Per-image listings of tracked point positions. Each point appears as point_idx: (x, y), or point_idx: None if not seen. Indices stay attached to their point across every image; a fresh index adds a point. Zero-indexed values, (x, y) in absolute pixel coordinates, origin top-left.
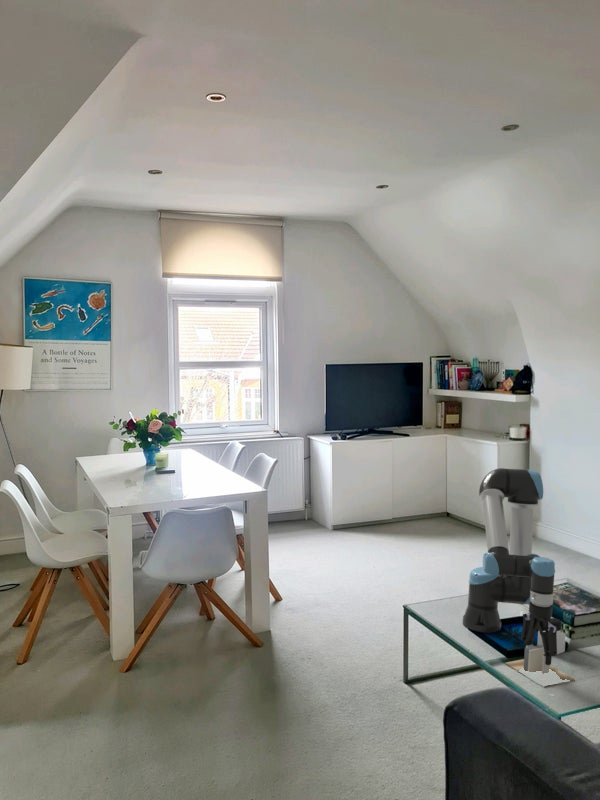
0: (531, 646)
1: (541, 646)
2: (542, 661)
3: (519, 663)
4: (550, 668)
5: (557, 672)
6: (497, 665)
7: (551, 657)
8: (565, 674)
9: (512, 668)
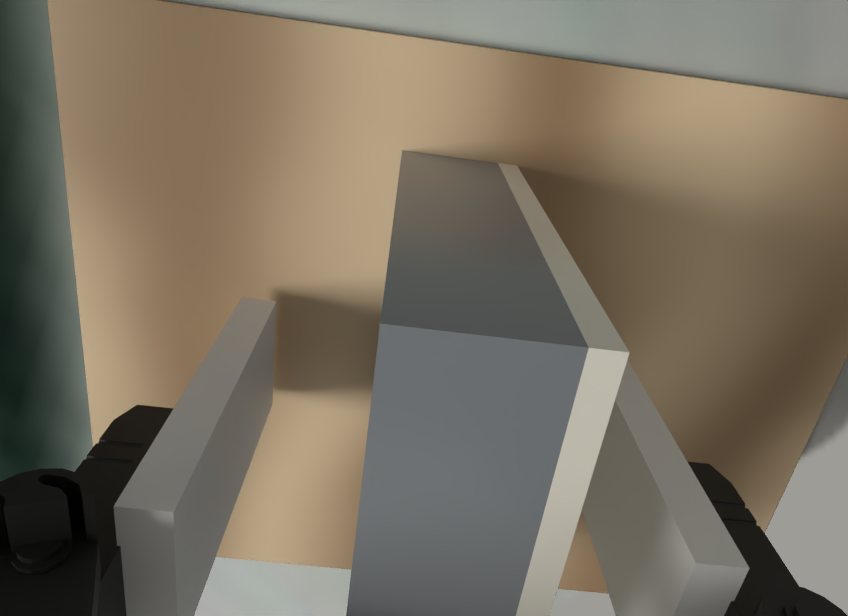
0: (181, 549)
1: (447, 596)
2: (600, 565)
3: None
4: (508, 143)
5: (657, 166)
6: None
7: (790, 575)
8: (781, 107)
9: (240, 547)
